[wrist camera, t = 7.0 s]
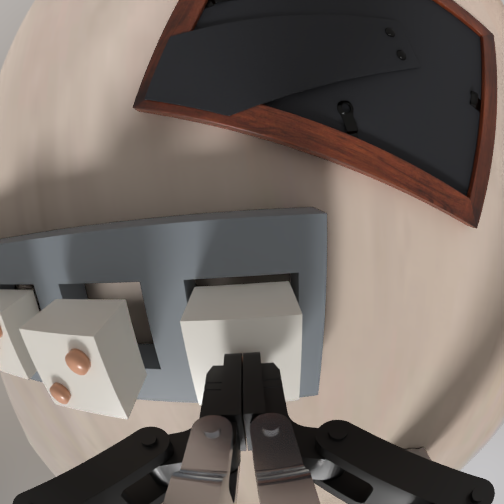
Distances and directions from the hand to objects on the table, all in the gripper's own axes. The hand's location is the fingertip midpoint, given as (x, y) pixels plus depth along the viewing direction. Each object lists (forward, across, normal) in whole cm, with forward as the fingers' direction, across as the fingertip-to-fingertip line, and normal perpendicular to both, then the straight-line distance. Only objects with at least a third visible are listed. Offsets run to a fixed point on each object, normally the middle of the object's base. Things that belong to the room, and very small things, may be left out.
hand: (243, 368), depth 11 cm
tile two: (+3, +8, 0) cm, 9 cm away
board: (+7, +8, 0) cm, 11 cm away
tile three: (+5, +17, 0) cm, 18 cm away
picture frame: (+8, -10, -18) cm, 22 cm away
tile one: (+5, 0, 0) cm, 5 cm away
